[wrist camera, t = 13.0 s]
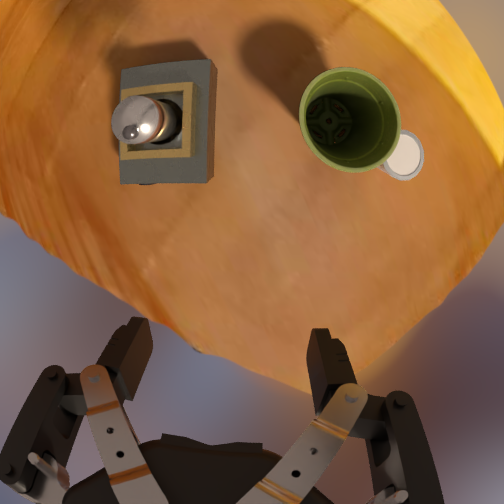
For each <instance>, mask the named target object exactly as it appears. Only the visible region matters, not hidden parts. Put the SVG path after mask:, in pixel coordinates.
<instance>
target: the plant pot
mask: <svg viewBox="0 0 504 504" xmlns="http://www.w3.org/2000/svg"><path fill="white" fill-rule="evenodd" d="M335 104H336V105H338V106H339V107H341V109H343V111H342V112H340V110H338V109H337V108H336V107H334V105H335ZM315 105H317V106H318V108H317V109H316V110H315V111H314V112H313V114H311V113H310V111H311V109H312V108H313V107H314V106H315ZM327 119H331V123H330V124H328V123H327ZM299 123H300V128H301V131H302V134H303V137H304V139H305V141H306V143H307V145H308V146H309V148H310V149H311V150H312V152H313V153H314V154H315V155H316V156H317V157H318V158H319V159H320V160H322V161H323V162H324V163H326V164H327V165H329V166H331V167H333V168H335V169H338V170H341V171H345V172H354V173H356V172H365V171H368V170H371V169H374V168H376V167H378V166H380V165H381V164H383V163H384V162H385V161H386V160H387V159H388V158H389V157H390V156H391V155H392V153H393V152H394V150H395V148H396V146H397V144H398V141H399V138H400V133H401V117H400V112H399V108H398V105H397V103H396V101H395V99H394V97H393V95H392V93H391V92H390V90H389V89H388V88H387V87H386V86H385V85H384V84H383V83H382V82H381V81H380V80H379V79H378V78H376V77H375V76H374V75H372V74H370V73H368V72H366V71H364V70H361V69H357V68H351V67H339V68H334V69H330V70H327V71H325V72H323V73H321V74H319V75H318V76H317V77H315V78H314V79H313V80H312V81H311V82H310V83H309V85H308V86H307V87H306V89H305V91H304V93H303V95H302V98H301V101H300V106H299ZM343 129H345V133H344V134H343V135H342V136H341V137H339V134H340V133H341V131H342V130H343ZM314 131H316V132H317V133H318V134H319V135H321V136H322V139H321V138H320V137H318V136H317V135H315V133H314ZM334 137H335V143H334Z"/></svg>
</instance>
